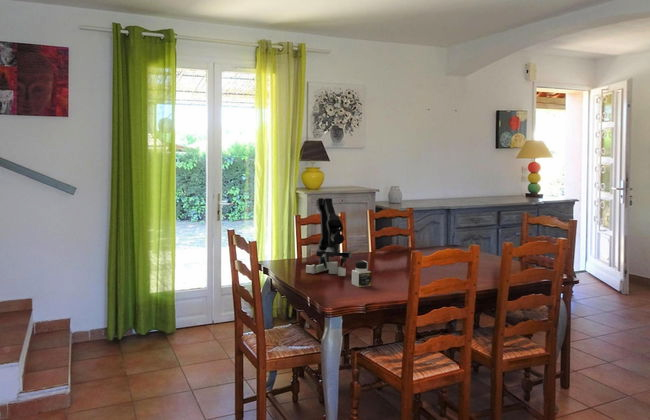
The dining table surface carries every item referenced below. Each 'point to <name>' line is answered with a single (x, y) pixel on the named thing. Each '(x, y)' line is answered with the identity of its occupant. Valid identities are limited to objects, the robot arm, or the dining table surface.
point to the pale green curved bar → (321, 267)
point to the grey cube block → (333, 267)
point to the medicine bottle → (361, 274)
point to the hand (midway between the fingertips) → (333, 269)
